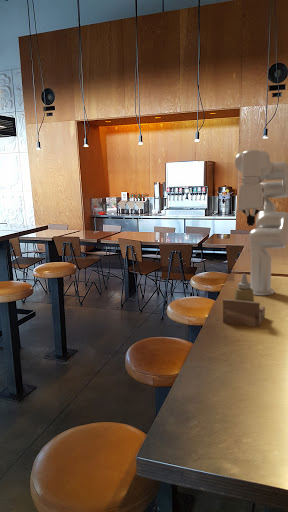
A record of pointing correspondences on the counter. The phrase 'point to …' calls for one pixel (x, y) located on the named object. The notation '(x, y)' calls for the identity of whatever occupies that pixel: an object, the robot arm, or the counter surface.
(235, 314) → the walnut holder
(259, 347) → the counter surface
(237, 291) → the squeeze bottle
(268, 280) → the robot arm
